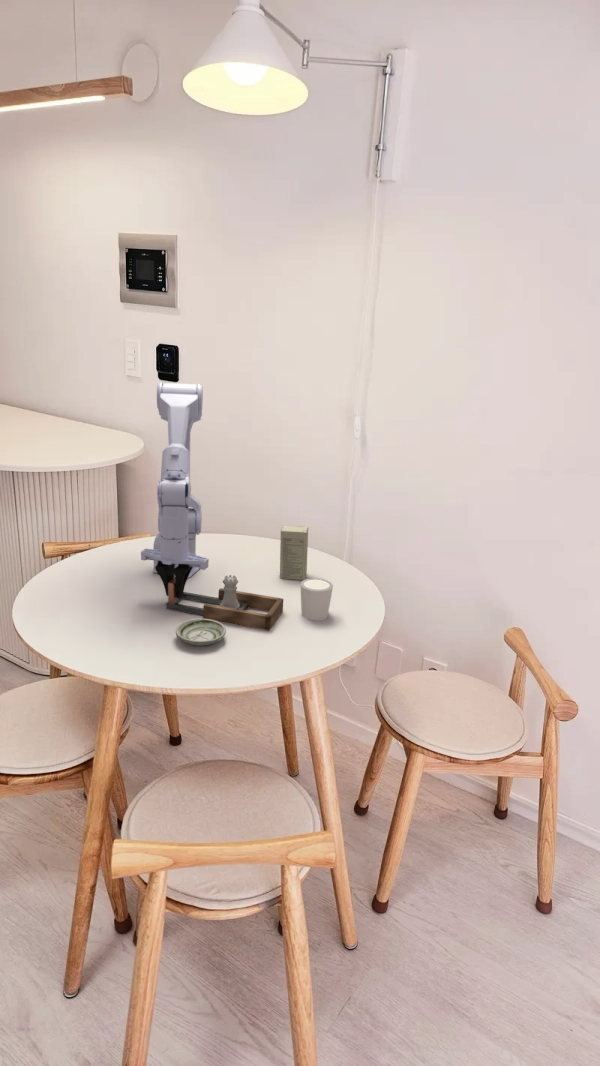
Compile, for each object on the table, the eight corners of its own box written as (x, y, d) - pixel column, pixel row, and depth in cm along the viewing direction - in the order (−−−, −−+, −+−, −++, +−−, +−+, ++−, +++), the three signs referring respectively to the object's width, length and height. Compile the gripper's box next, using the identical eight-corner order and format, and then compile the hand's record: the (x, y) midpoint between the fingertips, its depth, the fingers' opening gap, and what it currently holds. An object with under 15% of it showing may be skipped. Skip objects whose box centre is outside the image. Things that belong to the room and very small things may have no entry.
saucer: (211, 657, 129) (211, 645, 129) (166, 645, 132) (165, 634, 132) (234, 635, 138) (234, 624, 137) (190, 624, 141) (190, 614, 140)
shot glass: (314, 604, 153) (316, 575, 151) (337, 615, 148) (339, 585, 146) (291, 613, 148) (293, 582, 146) (314, 624, 144) (317, 593, 141)
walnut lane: (203, 618, 143) (203, 605, 142) (220, 600, 152) (220, 588, 151) (269, 630, 140) (269, 617, 139) (282, 611, 149) (283, 598, 148)
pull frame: (166, 608, 147) (166, 584, 145) (180, 596, 153) (180, 572, 151) (237, 621, 143) (237, 596, 141) (248, 607, 149) (249, 583, 147)
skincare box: (306, 574, 169) (309, 526, 165) (305, 581, 165) (308, 532, 161) (280, 571, 169) (282, 524, 165) (278, 578, 165) (280, 530, 161)
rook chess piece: (244, 613, 147) (245, 578, 144) (227, 618, 144) (228, 583, 141) (231, 605, 150) (232, 571, 147) (214, 611, 147) (215, 576, 144)
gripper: (133, 536, 143) (135, 596, 147) (199, 546, 139) (199, 607, 144) (149, 526, 149) (150, 584, 154) (212, 535, 146) (211, 594, 150)
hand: (174, 595), depth 149 cm, fingers closed
